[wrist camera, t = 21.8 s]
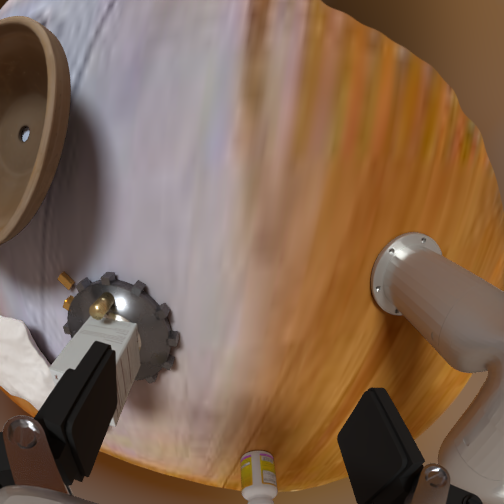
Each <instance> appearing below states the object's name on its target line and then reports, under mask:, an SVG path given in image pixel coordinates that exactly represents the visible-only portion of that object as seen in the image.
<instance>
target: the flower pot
mask: <svg viewBox="0 0 504 504" xmlns="http://www.w3.org/2000/svg"><path fill="white" fill-rule="evenodd" d="M70 99H71V85H70V72H69V67H68V62H67V58H66V55H65V52H64V50H63V48H62V46H61V43H60V42H59V40H58V39H57V38H56V36H55V35H54V34H53V33H52V32H51V31H49V30H48V29H47V28H46V27H44V26H43V25H41V24H40V23H38V22H37V21H35V20H33V19H31V18H28V17H24V16H13V17H8V18H4V19H2V20H0V245H1V244H3V243H5V242H7V241H9V240H10V239H12V238H13V237H14V236H16V235H17V234H18V233H20V232H21V231H22V230H23V229H24V228H25V227H26V226H27V224H28V223H29V222H30V221H31V219H32V218H33V217H34V215H35V214H36V212H37V211H38V209H39V207H40V206H41V204H42V202H43V200H44V198H45V196H46V194H47V192H48V190H49V188H50V185H51V183H52V181H53V178H54V175H55V172H56V170H57V167H58V164H59V161H60V157H61V153H62V150H63V146H64V141H65V137H66V132H67V127H68V120H69V112H70ZM27 126H28V127H29V130H30V134H29V137H28V139H27V140H26V141H25V142H23V141H22V138H21V134H22V131H23V129H24V128H25V127H27Z"/></svg>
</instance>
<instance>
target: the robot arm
mask: <svg viewBox="0 0 504 504" xmlns="http://www.w3.org/2000/svg"><path fill="white" fill-rule="evenodd" d="M389 250H390V251H389ZM371 290H372V294H373V297H374V299H375V301H376V302H377V304H378V305H379V306H380V307H381V308H382V309H383V310H384V311H386V312H387V313H389V314H392V315H399V316H400V315H403V316H404V317H405V318H406V319H407V320H408V321H409V322H410V323H411V324H412V325H413V326H414V327H415V328H416V329H417V330H418V331H419V332H420V333H421V335H422V336H423V337H424V338H425V339H426V340H427V341H428V342H429V343H430V344H431V345H432V346H433V348H434V349H435V350H436V351H437V352H438V353H439V354H440V355H441V356H442V357H443V358H444V359H445V361H446V362H447V363H448V364H449V365H450V366H451V367H453V368H454V369H456V370H458V371H461V372H466V373H476V372H483V371H488V376H487V379H486V381H485V382H484V384H483V386H482V387H481V389H480V391H479V393H478V394H477V395H476V397H475V398H474V400H473V401H472V403H471V404H470V405H469V407H468V408H467V410H466V411H465V412H464V414H463V415H462V416H461V418H460V419H459V420H458V421H457V423H456V424H455V425H454V427H453V428H452V429H451V431H450V432H449V433H448V435H447V436H446V438H445V439H444V441H443V443H442V445H441V447H440V450H439V454H438V464H435V463H432V464H427V465H426V466H425V467H423V465H422V464H423V463H424V462H425V460H424V458H423V456H422V454H421V452H420V451H419V449H418V447H417V445H416V443H415V441H414V439H413V438H412V436H411V434H410V432H409V430H408V428H407V427H406V425H405V423H404V421H403V419H402V418H401V416H400V414H399V412H398V411H397V409H396V407H395V405H394V403H393V402H392V400H391V398H390V396H389V395H388V393H387V391H386V390H385V389H384V388H370V389H368V391H366V392H364V394H363V395H362V397H361V399H360V401H359V402H358V404H357V405H356V407H355V409H354V410H353V412H352V414H351V415H350V417H349V418H348V420H347V421H346V423H345V425H344V426H343V428H342V429H341V431H340V432H339V434H338V438H337V440H338V444H339V447H340V450H341V453H342V457H343V460H344V463H345V466H346V469H347V472H348V476H349V479H350V482H351V485H352V488H353V491H354V495H355V498H356V501H357V503H358V504H482V502H485V503H488V504H504V292H503V291H501V290H500V289H498V288H496V287H495V286H493V285H492V284H490V283H488V282H487V281H485V280H483V279H482V278H480V277H478V276H476V275H475V274H473V273H471V272H470V271H468V270H466V269H464V268H463V267H461V266H459V265H457V264H456V263H454V262H452V261H450V260H449V259H447V258H445V257H443V256H442V252H441V250H440V248H439V246H438V245H437V243H436V242H435V241H434V240H433V239H432V238H430V237H429V236H427V235H425V234H422V233H418V232H410V233H405V234H402V235H400V236H398V237H396V238H395V239H393V240H392V241H390V242H389V243H388V244H387V245H386V246H385V247H384V248H383V250H382V251H381V253H380V254H379V256H378V257H377V259H376V261H375V264H374V267H373V269H372V274H371ZM117 402H118V399H117V381H116V352H115V350H112V348H111V345H109V344H106V343H103V342H100V341H95V342H94V343H93V344H92V346H91V347H90V348H89V350H88V351H87V353H86V354H85V355H84V357H83V358H82V360H81V361H80V363H79V364H78V366H77V367H76V369H75V370H74V369H71V368H69V369H67V370H66V371H65V373H64V374H63V376H62V377H61V378H60V380H59V381H58V383H57V384H56V386H55V387H54V389H53V390H52V392H51V393H50V395H49V396H48V398H47V399H46V401H45V402H44V404H43V405H42V407H41V408H40V410H39V411H38V413H37V414H36V416H35V417H34V419H33V418H31V417H28V416H15V417H13V418H11V419H9V420H8V421H7V422H6V423H5V425H4V428H3V432H0V504H97V503H94V502H91V501H87V500H84V499H81V498H79V497H75V496H74V495H73V493H72V491H71V489H70V487H69V485H72V483H73V480H74V479H75V480H78V481H80V482H82V480H83V478H84V476H86V477H89V475H90V473H91V470H92V468H93V465H94V463H95V460H96V457H97V455H98V452H99V450H100V447H101V445H102V442H103V440H104V437H105V435H106V432H107V430H108V427H109V425H110V423H111V420H112V418H113V415H114V413H115V411H116V408H117Z"/></svg>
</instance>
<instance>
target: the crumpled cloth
mask: <svg viewBox="0 0 504 504" xmlns="http://www.w3.org/2000/svg"><path fill="white" fill-rule="evenodd" d="M50 366H51V365H50V363H49V362H48V361H47V359H46V357H45V356H44V355H43V354H42V352H41V351H40V350H39V348H38V347H37V345H36V343H35V341H34V340H33V338H32V336H31V333H30V331H29V329H28V327H27V326H26V324H25V323H24V322H23V321H21V320H17V319H14V318H7V317H3V316H1V315H0V386H2V387H3V388H4V389H5V390H6V391H7V392H9V393H10V394H11V395H13V396H18V397H20V398H23V399H25V400H27V401H28V402H30V403H31V404H32V405H33V406H34V407H35V408H36V409H37V410H40V408H41V407H42V405H43V404H44V402H45V401H46V399H47V398H48V396H49V395H50V393H51V392H52V390H53V389H54V387H55V385H54V382H53V379H52V376H51V372H50V369H49V367H50Z"/></svg>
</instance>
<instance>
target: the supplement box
mask: <svg viewBox="0 0 504 504" xmlns="http://www.w3.org/2000/svg"><path fill="white" fill-rule="evenodd" d="M95 341H100V342H103V343H106V344H109V345H111V348H112V350H115V352H116V381H117V399H118V402H117V408H116V411H115V413H114V415H113V418H112V420H111V423H110V425H111V426H115V427H116V425H117V422H118V420H119V417H120V414H121V412H122V409H123V407H124V404H125V402H126V399H127V396H128V394H129V392H130V389H131V387H132V384H133V382H134V380H135V377H136V375H137V373H138V370H139V368H140V355H139V342H138V328H137V323H131V322H125V321H119V320H113V319H108V318H102V319H101V320H96V319H94V318H92V317H91V316H90V317H89V318H88V320H87V321H86V322H85V323H84V324H83V326H82V327H81V328H80V329H79V331H78V332H77V333H76V334H75V335H74V337H73V338H72V339H71V340H70V342H69V343H68V344H67V345H66V347H65V348H64V349H63V350H62V352H61V353H60V354H59V355H58V357H57V358H56V359H55V361H54V362H53V363H52V365H51V366H50V367H49V369H50V372H51V376H52V379H53V382H54V385H55V386H56V384H57V383H58V381H59V380H60V378H61V377H62V376H63V374H64V373H65V371H66V370H67V369H69V368H71V369H74V370H75V369H76V367H77V366H78V364H79V363H80V361H81V360H82V358H83V357H84V355H85V354H86V353H87V351H88V350H89V348H90V347H91V346H92V344H93V343H94V342H95Z"/></svg>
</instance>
